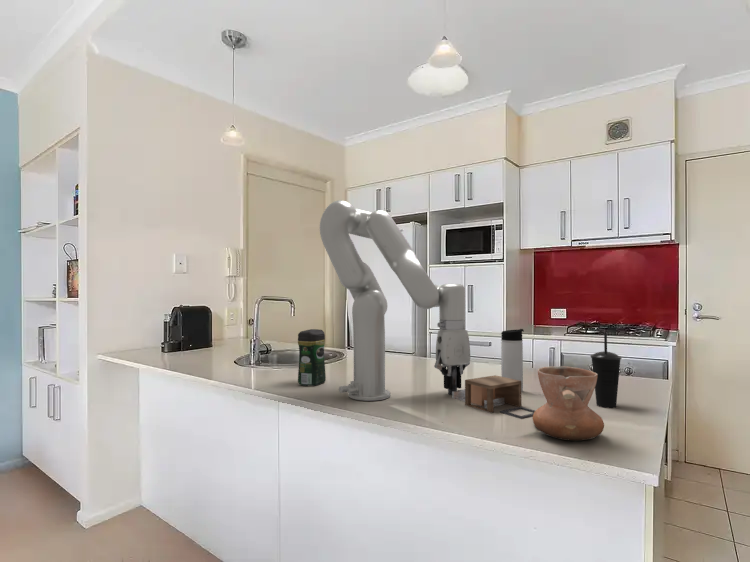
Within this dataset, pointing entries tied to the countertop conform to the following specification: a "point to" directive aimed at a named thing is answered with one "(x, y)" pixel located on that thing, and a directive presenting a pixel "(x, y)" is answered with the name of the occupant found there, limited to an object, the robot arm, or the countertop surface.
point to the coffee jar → (311, 357)
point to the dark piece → (518, 415)
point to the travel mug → (512, 355)
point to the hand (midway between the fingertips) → (452, 387)
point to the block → (479, 394)
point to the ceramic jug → (567, 404)
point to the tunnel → (502, 389)
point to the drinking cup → (606, 376)
